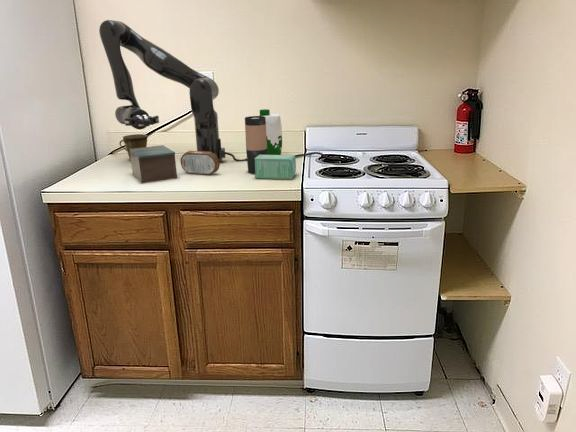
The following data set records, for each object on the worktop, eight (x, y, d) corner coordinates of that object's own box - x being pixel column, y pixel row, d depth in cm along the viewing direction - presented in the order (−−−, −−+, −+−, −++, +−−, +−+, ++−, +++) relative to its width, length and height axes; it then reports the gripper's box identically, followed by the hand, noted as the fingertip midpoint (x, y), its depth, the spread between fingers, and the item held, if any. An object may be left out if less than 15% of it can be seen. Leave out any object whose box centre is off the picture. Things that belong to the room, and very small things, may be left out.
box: (292, 179, 171) (292, 158, 169) (254, 179, 174) (253, 158, 172) (296, 174, 178) (295, 154, 176) (259, 174, 181) (258, 154, 179)
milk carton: (261, 156, 210) (259, 108, 204) (282, 156, 210) (281, 108, 204) (260, 161, 202) (257, 111, 196) (282, 160, 202) (280, 110, 195)
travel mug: (271, 170, 186) (269, 116, 180) (262, 174, 180) (259, 119, 174) (253, 168, 190) (250, 115, 183) (243, 173, 183) (240, 118, 177)
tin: (220, 174, 183) (219, 151, 180) (216, 176, 180) (215, 153, 177) (184, 172, 187) (182, 149, 185) (180, 173, 185) (178, 151, 182)
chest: (177, 178, 178) (174, 154, 176) (141, 183, 173) (138, 158, 170) (165, 170, 192) (163, 147, 189) (132, 174, 186) (129, 151, 183)
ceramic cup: (140, 156, 219) (137, 133, 216) (154, 158, 213) (152, 135, 210) (114, 161, 209) (111, 138, 206) (129, 164, 203) (126, 140, 200)
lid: (175, 154, 175) (175, 152, 175) (139, 158, 169) (138, 156, 169) (163, 147, 189) (163, 145, 189) (129, 151, 183) (129, 148, 183)
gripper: (118, 109, 185) (126, 114, 171) (153, 106, 191) (164, 111, 177) (120, 129, 188) (129, 135, 173) (155, 126, 194) (167, 132, 179)
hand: (147, 123), depth 175 cm, fingers closed
